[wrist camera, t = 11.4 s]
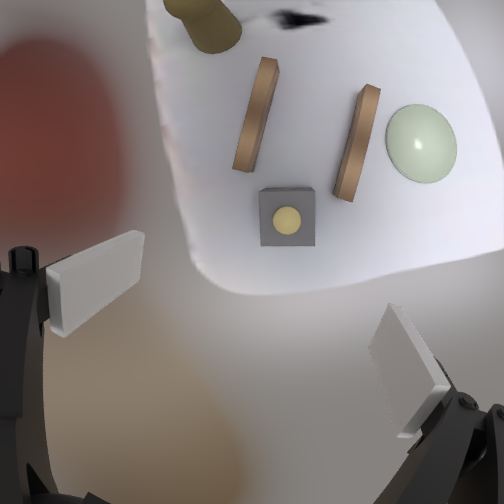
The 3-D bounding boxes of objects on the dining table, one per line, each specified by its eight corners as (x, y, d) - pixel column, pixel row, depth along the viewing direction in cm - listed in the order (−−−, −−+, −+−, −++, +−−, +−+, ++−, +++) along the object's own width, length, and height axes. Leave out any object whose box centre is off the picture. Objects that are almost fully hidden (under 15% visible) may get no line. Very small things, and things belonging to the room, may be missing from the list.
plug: (265, 188, 32) (257, 192, 25) (311, 187, 31) (315, 192, 24) (267, 232, 33) (259, 249, 27) (312, 232, 32) (315, 248, 26)
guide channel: (266, 69, 28) (262, 56, 24) (371, 97, 27) (380, 88, 23) (239, 168, 32) (232, 168, 28) (345, 198, 31) (352, 202, 27)
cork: (237, 8, 26) (213, -41, 16) (246, 46, 28) (223, 0, 17) (189, 22, 27) (152, -20, 17) (196, 59, 29) (155, 22, 18)
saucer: (394, 94, 27) (396, 92, 26) (458, 124, 26) (462, 123, 25) (377, 166, 29) (380, 166, 28) (443, 193, 29) (447, 194, 28)
